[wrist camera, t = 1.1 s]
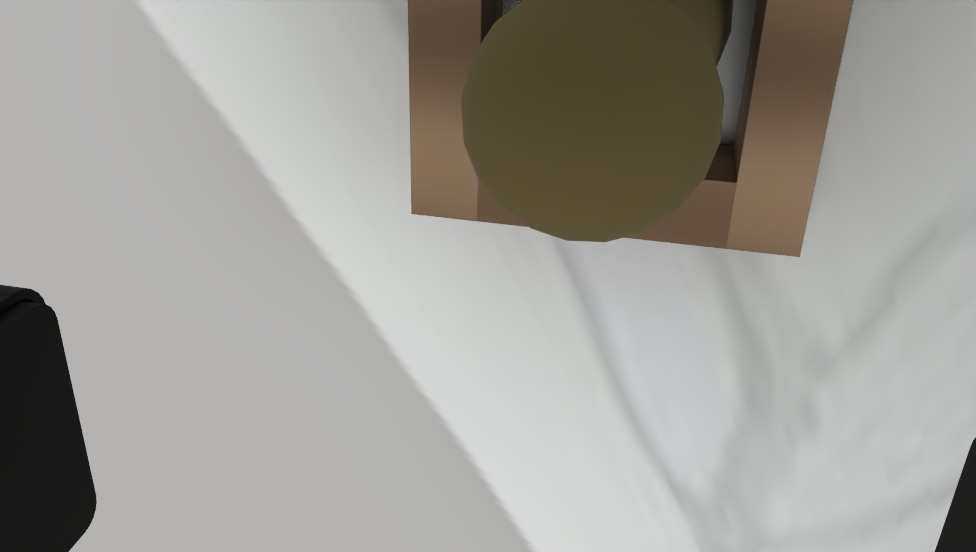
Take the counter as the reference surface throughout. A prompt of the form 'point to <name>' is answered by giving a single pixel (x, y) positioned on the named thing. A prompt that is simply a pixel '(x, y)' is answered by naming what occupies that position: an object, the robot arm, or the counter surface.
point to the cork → (596, 111)
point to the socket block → (734, 169)
